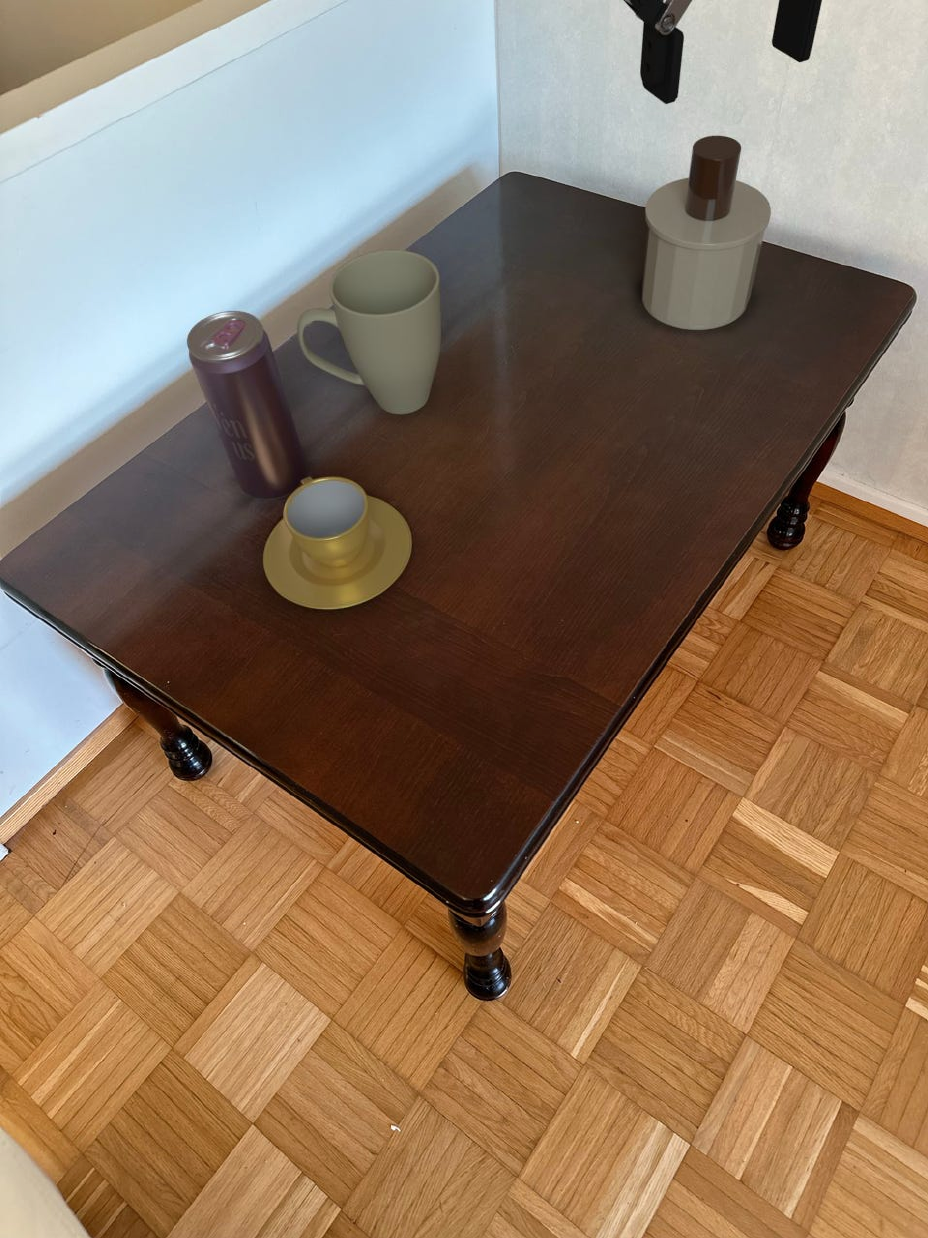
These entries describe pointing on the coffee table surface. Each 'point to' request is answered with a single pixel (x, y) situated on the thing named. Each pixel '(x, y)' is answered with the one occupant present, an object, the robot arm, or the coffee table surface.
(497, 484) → the coffee table surface
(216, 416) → the beverage can
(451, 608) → the coffee table surface
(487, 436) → the coffee table surface
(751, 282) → the pot
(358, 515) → the cup
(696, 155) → the lid
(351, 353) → the mug
